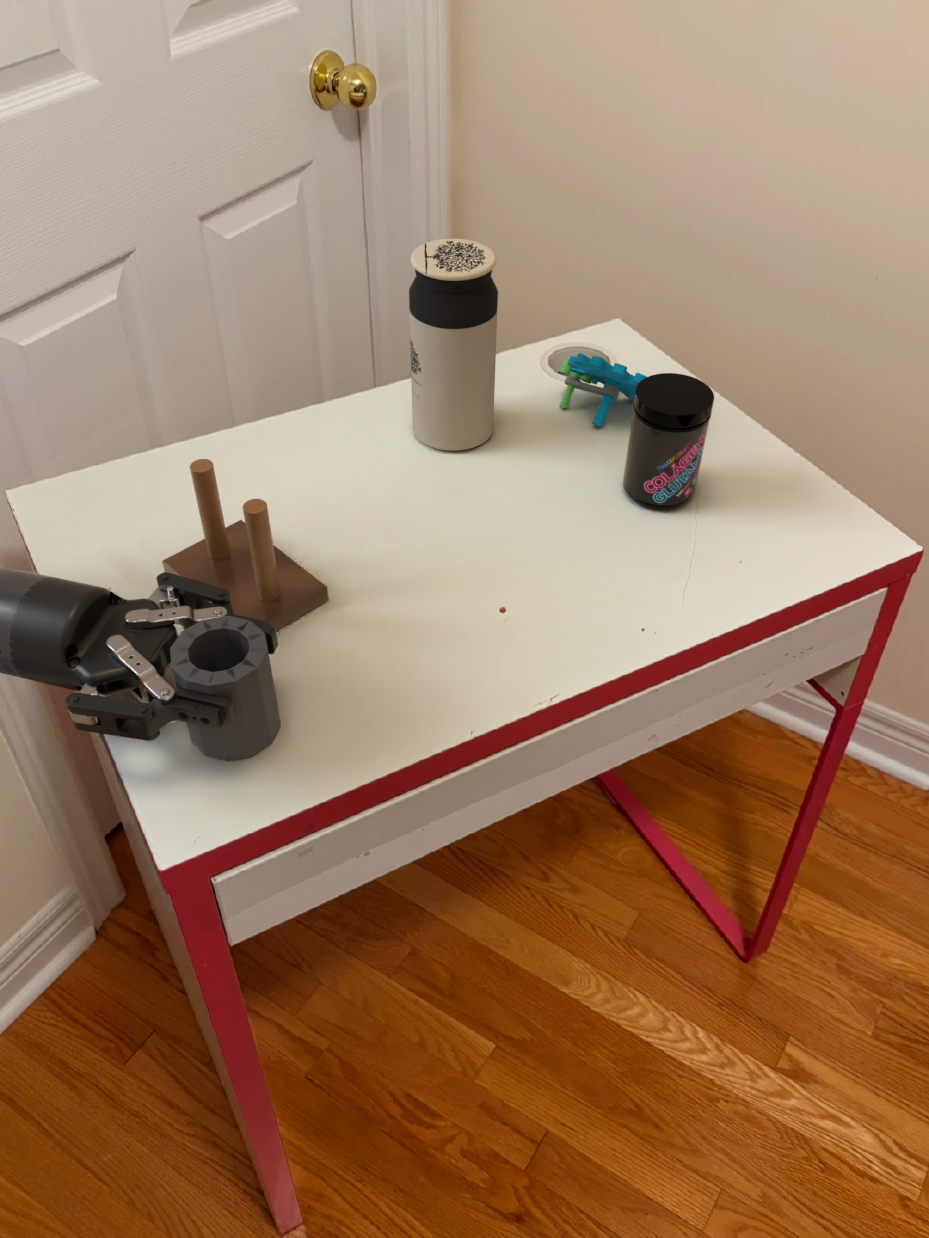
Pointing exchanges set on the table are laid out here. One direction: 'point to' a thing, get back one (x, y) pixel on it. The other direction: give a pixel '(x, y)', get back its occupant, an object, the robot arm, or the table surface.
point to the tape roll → (229, 684)
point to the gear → (598, 372)
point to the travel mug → (453, 343)
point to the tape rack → (245, 559)
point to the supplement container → (667, 440)
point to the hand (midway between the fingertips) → (253, 675)
